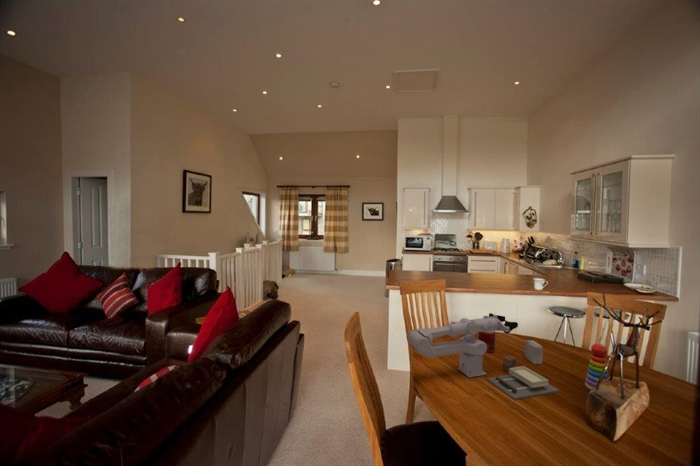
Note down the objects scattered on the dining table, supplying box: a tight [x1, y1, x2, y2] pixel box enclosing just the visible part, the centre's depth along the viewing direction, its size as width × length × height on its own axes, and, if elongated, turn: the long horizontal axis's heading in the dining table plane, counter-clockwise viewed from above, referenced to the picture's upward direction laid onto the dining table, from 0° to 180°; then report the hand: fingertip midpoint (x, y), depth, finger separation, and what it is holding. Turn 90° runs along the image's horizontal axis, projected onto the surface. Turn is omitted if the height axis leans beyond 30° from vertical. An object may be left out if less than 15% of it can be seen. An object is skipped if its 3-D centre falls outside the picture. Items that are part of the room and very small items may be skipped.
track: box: [486, 373, 560, 401], centre depth 126 cm, size 22×15×2 cm
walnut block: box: [502, 354, 518, 374], centre depth 139 cm, size 4×4×6 cm
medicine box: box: [524, 339, 544, 365], centre depth 149 cm, size 8×4×9 cm, turn 179°
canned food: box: [478, 330, 496, 354], centre depth 160 cm, size 8×8×11 cm
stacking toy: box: [584, 343, 610, 391], centre depth 123 cm, size 8×8×19 cm
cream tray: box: [508, 365, 549, 388], centre depth 127 cm, size 8×12×3 cm, turn 16°
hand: (510, 321), depth 141 cm, fingers open, 7 cm apart
